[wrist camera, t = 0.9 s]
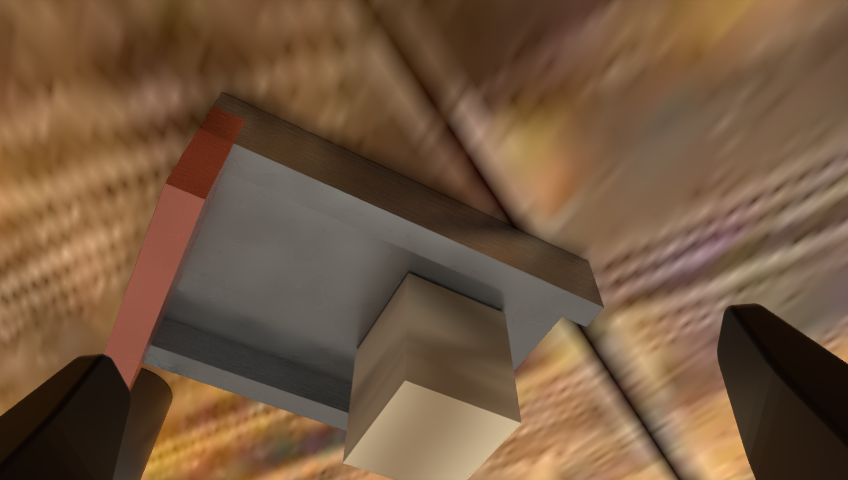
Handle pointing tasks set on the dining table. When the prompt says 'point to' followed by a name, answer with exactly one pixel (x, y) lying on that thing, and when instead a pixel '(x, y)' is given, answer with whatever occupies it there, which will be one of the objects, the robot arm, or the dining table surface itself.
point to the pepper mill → (142, 424)
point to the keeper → (431, 387)
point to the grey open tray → (313, 265)
